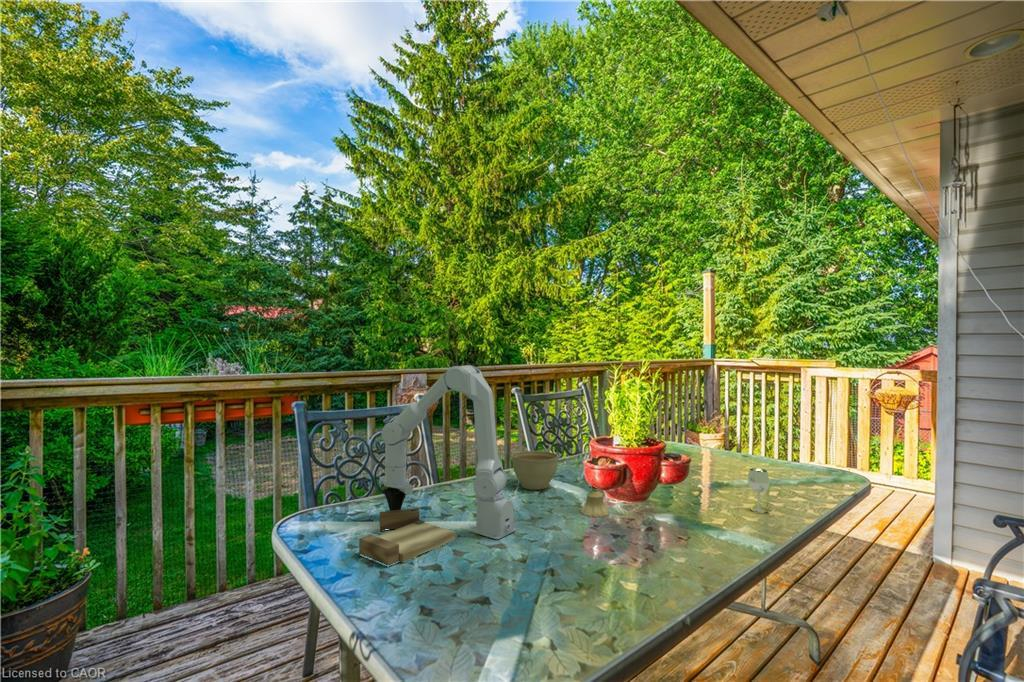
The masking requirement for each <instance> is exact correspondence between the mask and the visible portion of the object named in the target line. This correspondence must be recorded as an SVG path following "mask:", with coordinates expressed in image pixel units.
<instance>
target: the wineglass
mask: <svg viewBox="0 0 1024 682" xmlns="http://www.w3.org/2000/svg"><path fill="white" fill-rule="evenodd" d="M747 484H748V487H749V488H750V489H751V490H752V491H754V492H756V499H757V506H756V507H752V508H753V510H755V511H759V512H762V511H764V510H765V509H764V508H761V507H760V499H761V493H762V492H766V491H768V489H769V488H770V477H769V472H768V470H767V469H764V468H755V467H752V468H749V470H748V476H747ZM763 509H764V510H763Z"/></svg>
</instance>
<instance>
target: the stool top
mask: <svg viewBox="0 0 1024 682" xmlns="http://www.w3.org/2000/svg"><path fill="white" fill-rule="evenodd" d="M456 534H457V533H456V531H453V530H450V529H447V528H444V527H440V526H437V525H434V524H431V523H428V522H425V521H424V520H422V519H419V520H417V521H414V523H412V524H409V525H407V526H404V527H401V528H399V529H395V530H389V531H388V532H386V533H383V534H381V535H378V536H377V535H372V534H368V535H364V536H362V537H359V539H358V540H359V541H358V542H359V544H358V545H359V546H358V554H359V553H360V554H362V555H364V556H367V557H369V558H372V559H374V560H377V561H379V562H381V563H384V564H386V565H391V564H393V563H396V562H398V561H401V562H404V561H407V560H409V559H411V558H414V557H416V556H417V555H420V554H422V553H425V552H427V551H430V550H432V551H434V550H433V549H435V548H437V547H439V548H441V547H443V546H445V545H444V544H445V543H448V542H450V541H452V542H454V541H453V540H455V539H456V538H457V537H456V536H457V535H456ZM455 541H456V540H455ZM450 543H451V542H450ZM448 544H449V543H448ZM442 545H443V546H442ZM440 546H441V547H440ZM437 549H438V548H437ZM435 550H436V549H435ZM430 552H431V551H430ZM414 559H415V558H414Z"/></svg>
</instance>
